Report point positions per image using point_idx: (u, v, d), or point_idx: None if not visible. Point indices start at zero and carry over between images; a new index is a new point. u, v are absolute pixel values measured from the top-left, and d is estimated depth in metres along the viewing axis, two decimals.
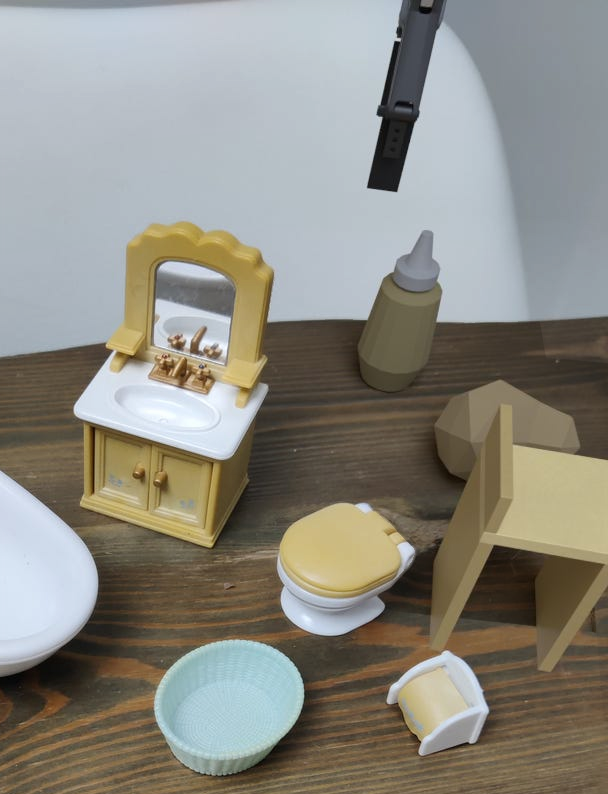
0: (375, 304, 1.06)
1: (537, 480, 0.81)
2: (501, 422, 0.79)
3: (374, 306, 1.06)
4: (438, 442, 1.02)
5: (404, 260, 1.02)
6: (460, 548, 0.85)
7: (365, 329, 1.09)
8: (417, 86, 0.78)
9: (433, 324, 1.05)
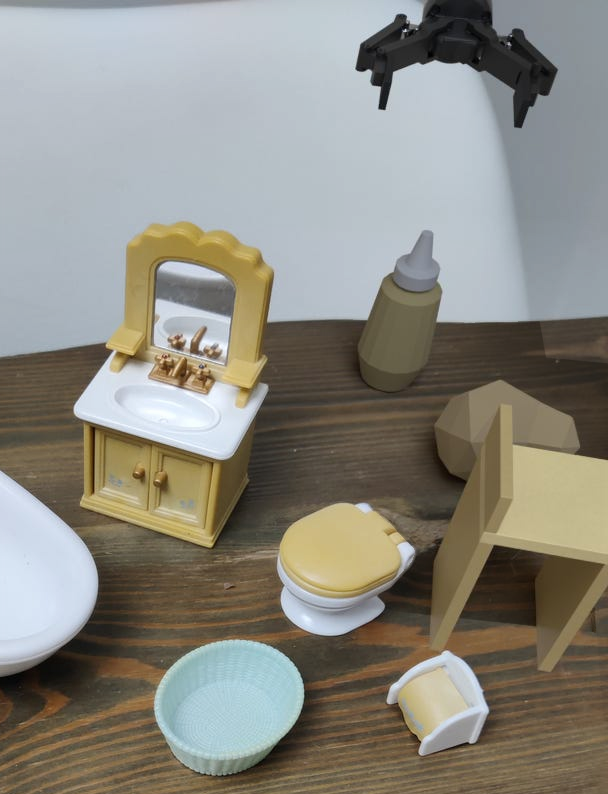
0: (375, 304, 1.06)
1: (537, 480, 0.81)
2: (501, 422, 0.79)
3: (374, 306, 1.06)
4: (438, 442, 1.02)
5: (404, 260, 1.02)
6: (460, 548, 0.85)
7: (365, 329, 1.09)
8: None
9: (433, 324, 1.05)
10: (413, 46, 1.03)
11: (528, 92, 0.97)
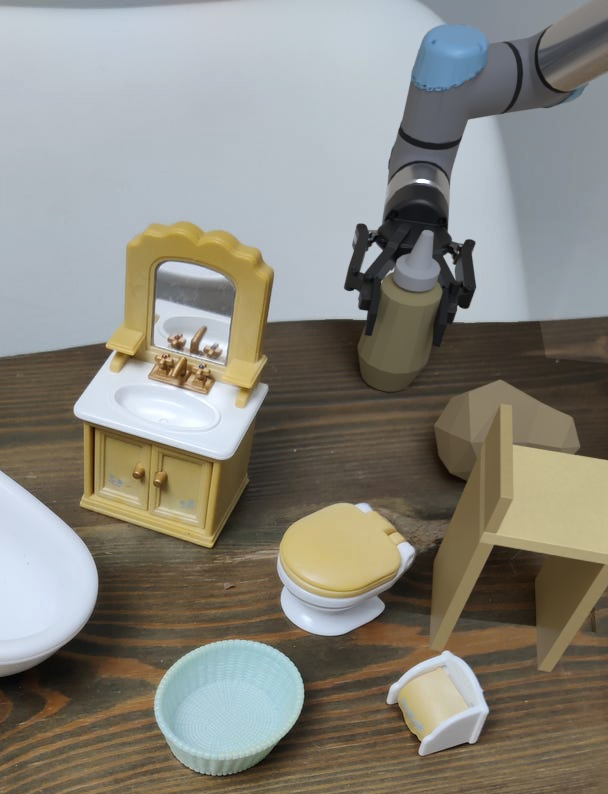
0: None
1: (537, 480, 0.81)
2: (501, 422, 0.79)
3: None
4: (438, 442, 1.02)
5: (404, 260, 1.02)
6: (460, 548, 0.85)
7: None
8: None
9: (433, 324, 1.05)
10: (388, 261, 1.09)
11: (444, 315, 1.02)
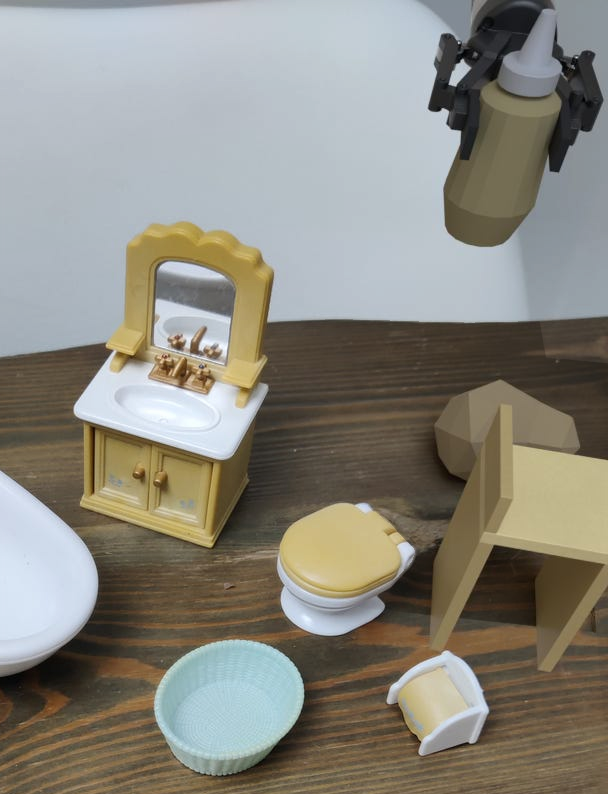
0: None
1: (537, 480, 0.81)
2: (501, 422, 0.79)
3: None
4: (438, 442, 1.02)
5: (514, 57, 0.78)
6: (460, 548, 0.85)
7: (455, 161, 0.84)
8: None
9: None
10: (485, 74, 0.84)
11: (567, 128, 0.78)
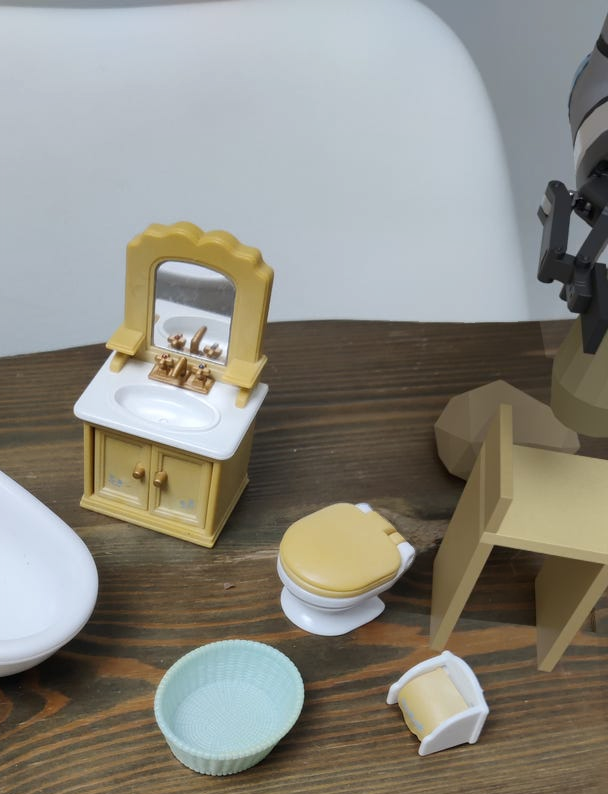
0: None
1: (537, 480, 0.81)
2: (501, 422, 0.79)
3: None
4: (438, 442, 1.02)
5: None
6: (460, 548, 0.85)
7: (571, 342, 0.70)
8: (548, 238, 0.70)
9: None
10: (607, 237, 0.70)
11: None
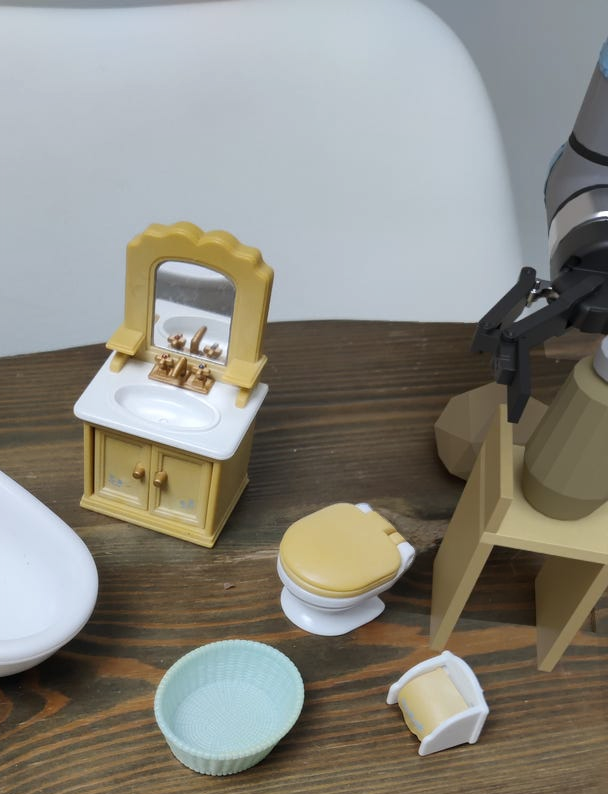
0: (561, 403, 0.72)
1: None
2: (501, 422, 0.79)
3: (559, 405, 0.73)
4: (438, 442, 1.02)
5: None
6: (460, 548, 0.85)
7: (540, 435, 0.75)
8: None
9: None
10: (550, 322, 0.76)
11: None
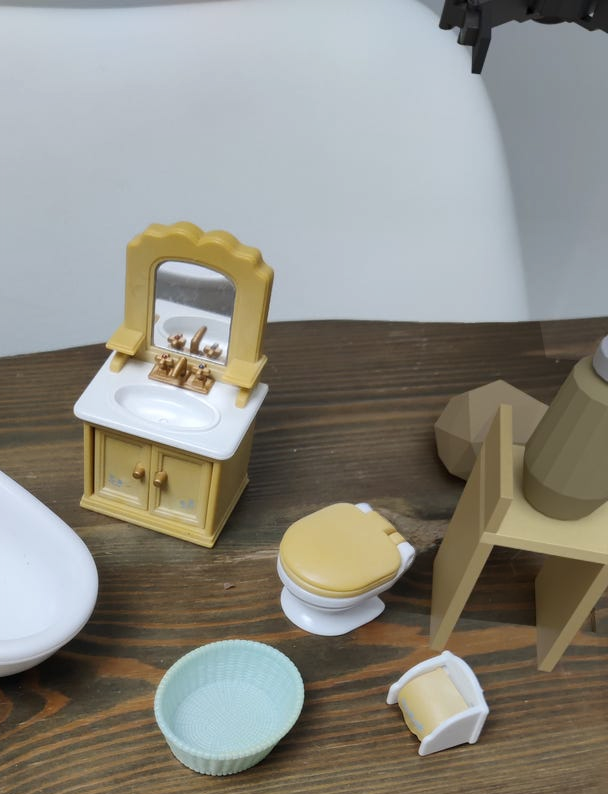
0: (561, 403, 0.72)
1: None
2: (501, 422, 0.79)
3: (559, 405, 0.73)
4: (438, 442, 1.02)
5: None
6: (460, 548, 0.85)
7: (540, 435, 0.75)
8: None
9: None
10: None
11: None
